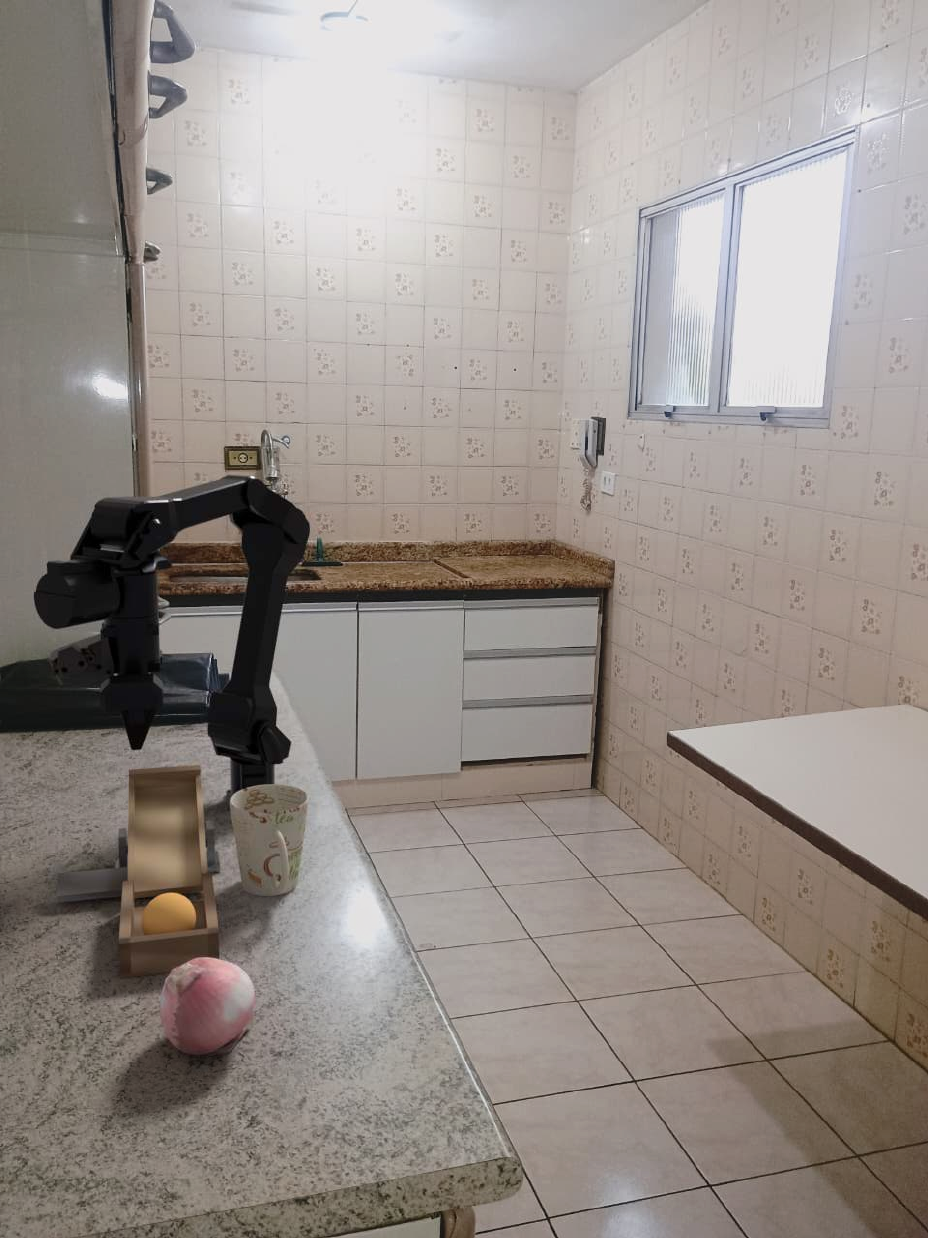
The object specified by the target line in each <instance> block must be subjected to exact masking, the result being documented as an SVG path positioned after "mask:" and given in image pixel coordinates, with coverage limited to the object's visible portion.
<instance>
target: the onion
mask: <svg viewBox="0 0 928 1238" xmlns="http://www.w3.org/2000/svg"><path fill="white" fill-rule="evenodd" d="M255 992H256V991H255V987H254V984H253V982H252V980H251V978H250V976H249V974H248V973H247V972H245V971H244V970H243V969H242V968H241V967H239V966H237V965H236V964H235V963H231V962H229V961H226V960H223V959H220V958H219V959H216V958H209V957H201V958H195V959H192V960H190V961H188V962H187V963H185V964H183V965H181V966H179V967H176V968H174V969H173V970H172V971H171V972H169V974H168V976H167V977H166V978H165V979H164V983H163V987H162V990H161V995H160V997H159V1017H160V1021H161V1025H162V1027H163V1029H164V1032H165V1034H166V1037H167V1039H168V1040H169V1042H171V1045H173V1046H174V1047H175V1048H177V1049H178V1050H179V1051H180V1052H182V1053H185V1054H186V1055H187V1054H188V1055H192V1056H194V1057H197V1058H200V1059H201V1058H206V1057H211V1056H218V1055H224V1054H225V1055H226V1054H230V1053H231V1051H232V1050H233V1049H234V1047H235V1045H236V1044H237V1043H238V1041H239V1040H240V1039H241V1037H242V1036H243V1035H244V1033H245V1032H246V1030H247V1029H248V1028H249V1026H250V1025H251V1024H252V1022H253V1021H254V1020H255V1018H256V1017H255V1016H254V1015H253V1012H254V1007H255V1003H256V993H255Z"/></svg>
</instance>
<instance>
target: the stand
mask: <svg viewBox="0 0 928 1238" xmlns="http://www.w3.org/2000/svg"><path fill="white" fill-rule="evenodd" d="M214 824H215V823H214V820H206V821H205V827H206V828H205V843H206V858H207V873H212V874H214V873H221V863H220V855H219V850H216V846H215V845H216V844H215V843H216V842H215V825H214ZM127 835H128V830H127V827H124V828H118V835H117V841H118V842H117V843H118V845H117V847H118V859H116V860H115V867H114V868H122V867H128V837H127Z"/></svg>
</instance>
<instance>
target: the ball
mask: <svg viewBox="0 0 928 1238" xmlns="http://www.w3.org/2000/svg"><path fill="white" fill-rule="evenodd" d="M190 901H191V900H189V899H188V898H187V897H186V896H184V895H182V894H177V893H165V894H161V895H159V896H154V898H153V899H152V900H150V901H149V902H148V903H147V905H145V906H146V908H145V910H144V912H143V915H142V929H143V932H144V935H145V936H146V935H154V934H163V933H172V932H180V931H189V930H194V927H195V923H196V913H195V909H194V907H193V905H192V903H191V902H190Z"/></svg>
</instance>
